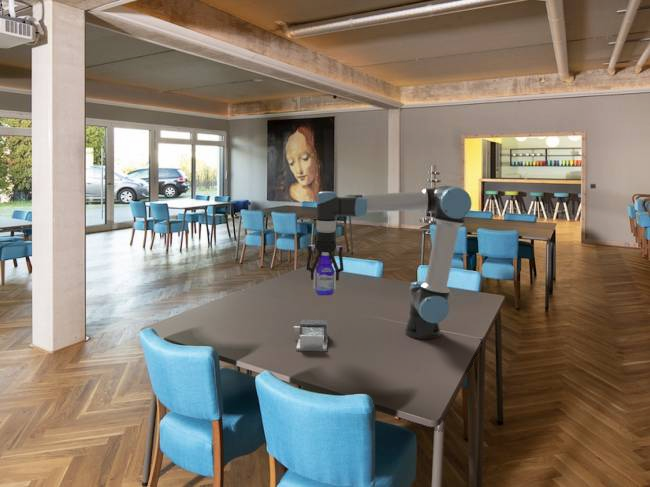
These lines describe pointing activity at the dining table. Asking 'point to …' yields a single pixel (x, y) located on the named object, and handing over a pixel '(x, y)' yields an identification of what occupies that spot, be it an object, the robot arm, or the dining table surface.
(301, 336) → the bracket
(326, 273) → the bottle
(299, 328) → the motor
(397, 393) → the dining table surface
